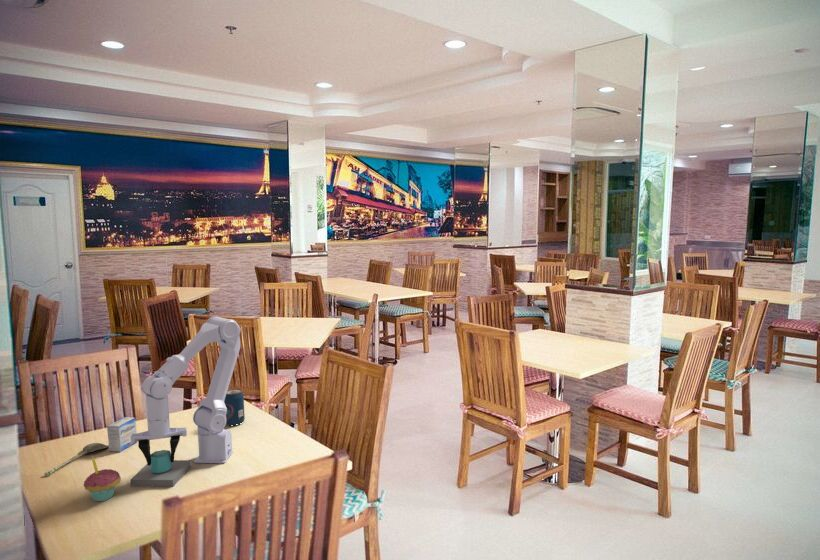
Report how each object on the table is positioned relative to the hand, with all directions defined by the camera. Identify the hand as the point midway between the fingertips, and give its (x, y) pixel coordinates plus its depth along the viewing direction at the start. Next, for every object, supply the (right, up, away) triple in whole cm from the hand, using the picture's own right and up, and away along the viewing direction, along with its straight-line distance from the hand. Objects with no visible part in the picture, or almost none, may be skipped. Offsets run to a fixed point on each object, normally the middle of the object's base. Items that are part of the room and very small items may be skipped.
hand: (161, 462), depth 157 cm
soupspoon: (-31, -4, +11) cm, 33 cm away
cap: (0, -2, 0) cm, 2 cm away
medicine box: (-22, -2, +21) cm, 30 cm away
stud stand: (0, -4, +1) cm, 4 cm away
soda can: (+8, +1, +40) cm, 41 cm away
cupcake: (-11, -6, -11) cm, 16 cm away
